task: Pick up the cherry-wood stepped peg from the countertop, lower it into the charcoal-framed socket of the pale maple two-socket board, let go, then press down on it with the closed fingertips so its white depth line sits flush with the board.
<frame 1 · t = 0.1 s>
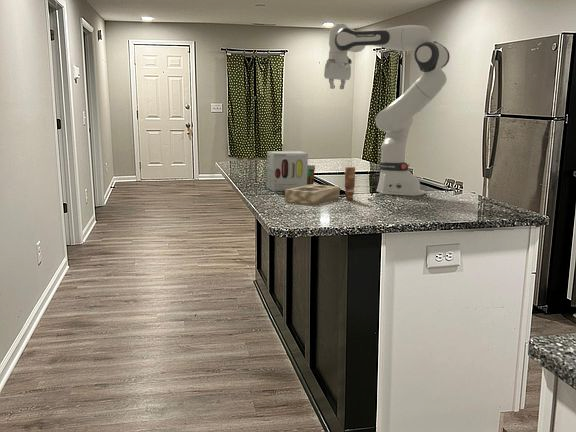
hand: (337, 89, 285), 48 cm above the worktop, tool pointing down, fingers open, 8 cm apart
supplement box: (286, 189, 284), on the worktop
board: (312, 199, 253), on the worktop
peg: (349, 199, 254), on the worktop
food container: (304, 184, 305), on the worktop
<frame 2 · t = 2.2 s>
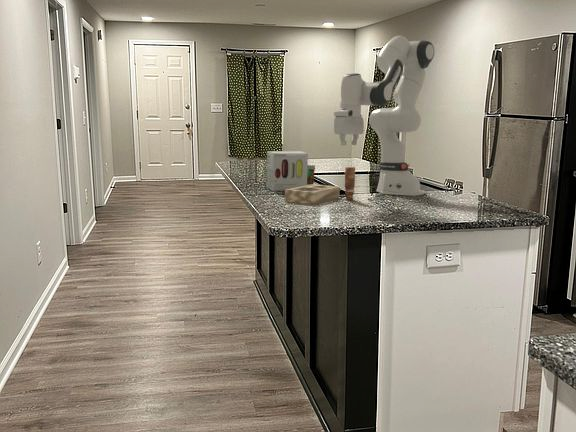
hand: (348, 145, 251), 23 cm above the worktop, tool pointing down, fingers open, 8 cm apart
nothing on the worktop moved.
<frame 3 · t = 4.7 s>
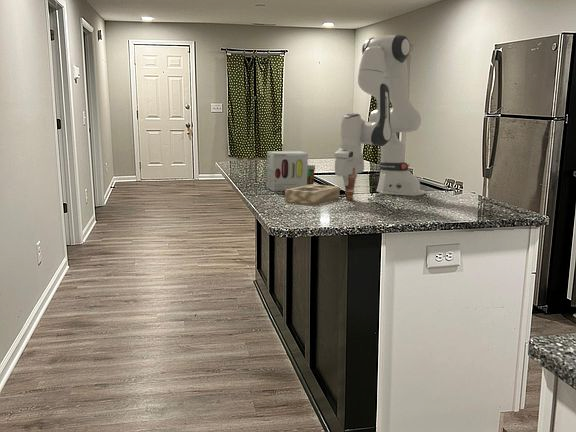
hand: (349, 184, 252), 7 cm above the worktop, tool pointing down, fingers closed on peg, 4 cm apart
peg: (349, 199, 254), on the worktop, touching gripper
everything else where it was.
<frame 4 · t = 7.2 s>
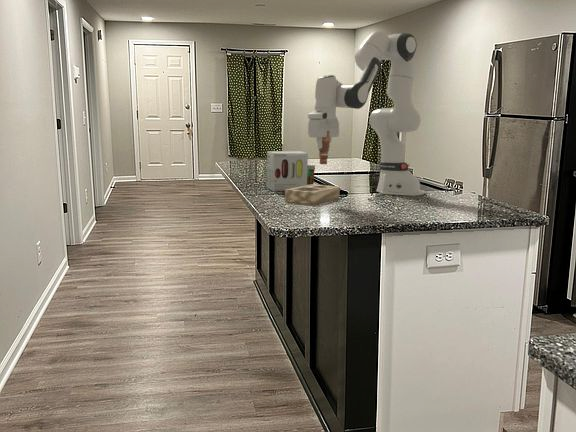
hand: (323, 148, 246), 22 cm above the worktop, tool pointing down, fingers closed on peg, 4 cm apart
peg: (323, 164, 247), point 16 cm above the worktop, touching gripper
everything else where it was.
when the fingers open (9 cm above the worktop, at t = 10.0 s): peg stays where it is, resting on board.
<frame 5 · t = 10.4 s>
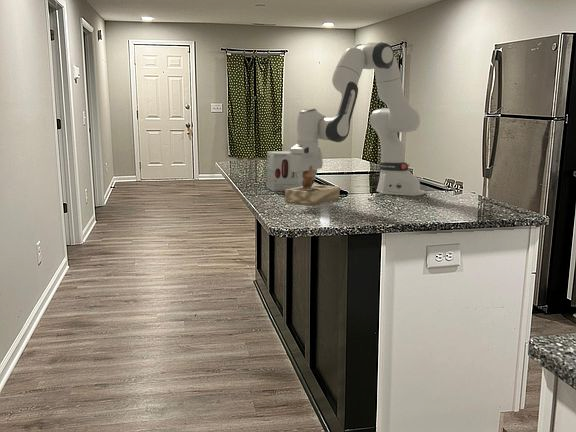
hand: (307, 181, 248), 9 cm above the worktop, tool pointing down, fingers open, 8 cm apart
peg: (306, 198, 249), point 1 cm above the worktop, touching board
everything else where it was.
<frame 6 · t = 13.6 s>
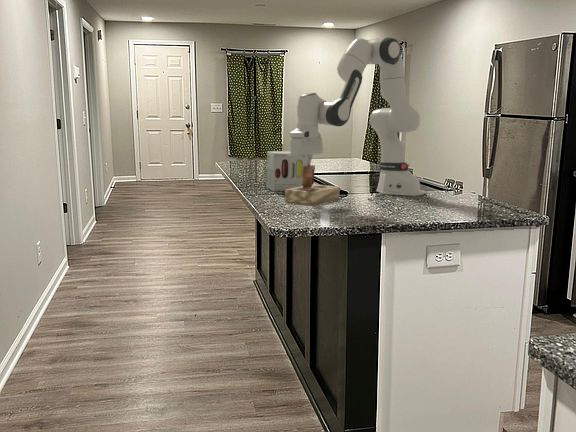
hand: (306, 165, 246), 15 cm above the worktop, tool pointing down, fingers closed, pressing on peg
peg: (306, 198, 249), point 1 cm above the worktop, touching board, gripper
everything else where it was.
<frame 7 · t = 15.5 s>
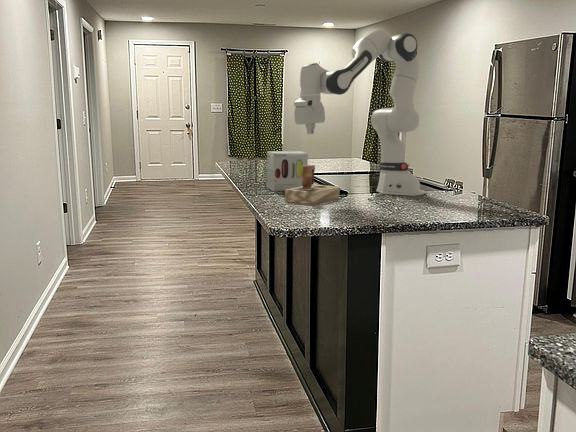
hand: (310, 134, 256), 28 cm above the worktop, tool pointing down, fingers closed
peg: (306, 198, 249), point 1 cm above the worktop, touching board
everything else where it was.
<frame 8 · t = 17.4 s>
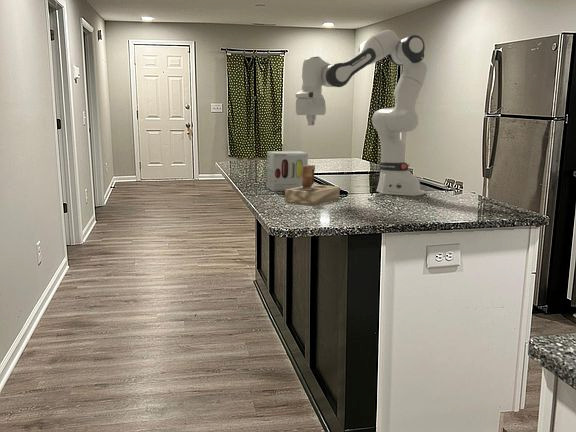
hand: (311, 125, 264), 31 cm above the worktop, tool pointing down, fingers closed
nothing on the worktop moved.
at the end: peg 0.1 cm from the target spot on the board, point 1.0 cm above the board's base; peg tilted 1°; the gripper is holding nothing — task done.
